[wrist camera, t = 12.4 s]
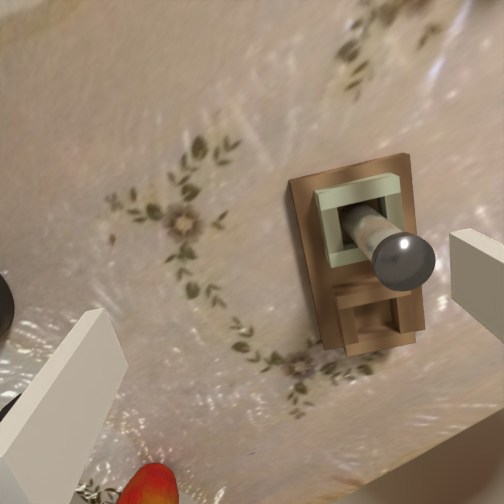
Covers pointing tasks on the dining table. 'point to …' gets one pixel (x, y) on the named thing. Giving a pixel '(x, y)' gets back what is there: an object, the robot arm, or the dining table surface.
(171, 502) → the apple
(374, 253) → the lock pin
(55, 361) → the robot arm
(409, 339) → the socket board
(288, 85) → the dining table surface
